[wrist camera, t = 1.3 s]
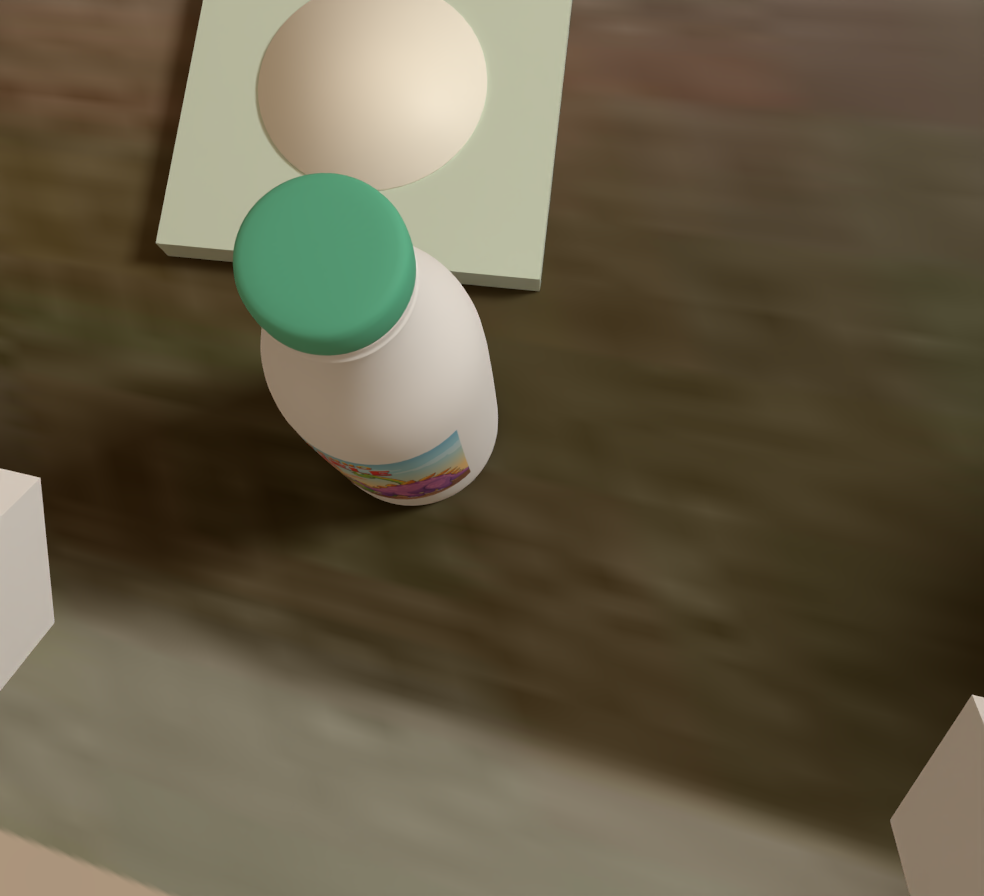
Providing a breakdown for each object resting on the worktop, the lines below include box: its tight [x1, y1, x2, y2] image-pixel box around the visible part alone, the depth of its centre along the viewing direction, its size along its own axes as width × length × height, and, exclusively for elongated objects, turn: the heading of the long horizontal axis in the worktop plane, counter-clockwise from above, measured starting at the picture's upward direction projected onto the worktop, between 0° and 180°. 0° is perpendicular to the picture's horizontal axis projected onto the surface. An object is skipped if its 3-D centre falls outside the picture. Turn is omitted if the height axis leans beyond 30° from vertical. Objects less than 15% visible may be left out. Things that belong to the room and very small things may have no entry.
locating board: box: [156, 0, 572, 291], centre depth 45 cm, size 18×18×2 cm
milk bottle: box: [233, 173, 498, 506], centre depth 33 cm, size 8×8×20 cm
